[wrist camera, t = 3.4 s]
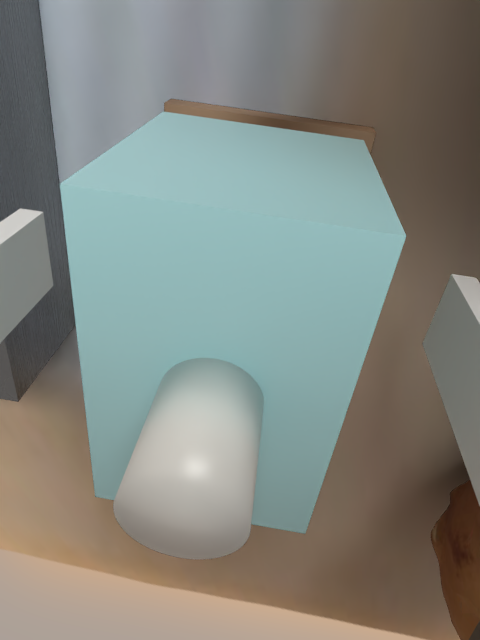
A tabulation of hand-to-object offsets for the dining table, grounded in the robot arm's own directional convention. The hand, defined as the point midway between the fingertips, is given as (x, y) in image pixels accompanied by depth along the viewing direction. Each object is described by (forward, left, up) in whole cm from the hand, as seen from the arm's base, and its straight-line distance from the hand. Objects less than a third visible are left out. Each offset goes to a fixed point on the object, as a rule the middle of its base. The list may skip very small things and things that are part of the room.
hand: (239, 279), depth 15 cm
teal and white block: (0, 0, -5) cm, 5 cm away
